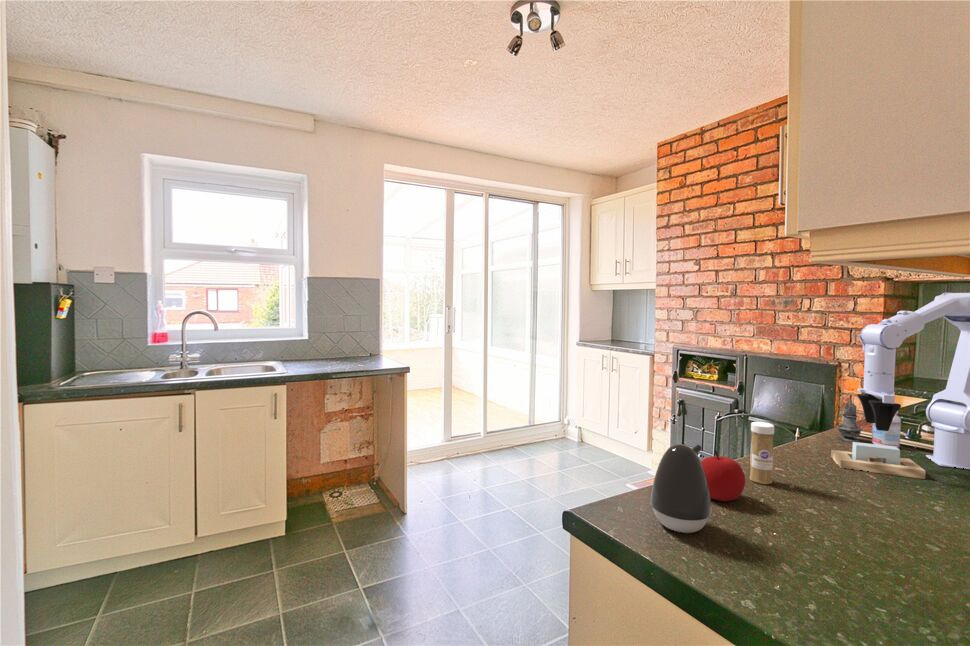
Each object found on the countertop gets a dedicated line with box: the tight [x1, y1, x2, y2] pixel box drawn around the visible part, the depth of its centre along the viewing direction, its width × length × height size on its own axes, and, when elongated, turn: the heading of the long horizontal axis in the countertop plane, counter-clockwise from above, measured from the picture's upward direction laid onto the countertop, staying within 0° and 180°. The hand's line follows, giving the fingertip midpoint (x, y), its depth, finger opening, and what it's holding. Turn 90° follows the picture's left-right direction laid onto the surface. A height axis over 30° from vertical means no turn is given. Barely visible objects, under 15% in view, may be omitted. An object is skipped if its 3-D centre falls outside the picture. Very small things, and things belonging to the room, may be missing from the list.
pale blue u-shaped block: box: [851, 442, 901, 465], centre depth 113 cm, size 8×3×6 cm, turn 64°
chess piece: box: [836, 400, 863, 443], centre depth 136 cm, size 6×6×12 cm
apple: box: [700, 450, 746, 502], centre depth 95 cm, size 9×9×10 cm
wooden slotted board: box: [830, 449, 926, 480], centre depth 113 cm, size 16×9×2 cm, turn 64°
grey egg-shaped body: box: [650, 443, 712, 534], centre depth 83 cm, size 10×10×15 cm
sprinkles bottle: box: [749, 421, 775, 485], centre depth 104 cm, size 5×5×14 cm
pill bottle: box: [871, 410, 902, 449], centre depth 131 cm, size 6×6×11 cm
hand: (876, 426), depth 113 cm, fingers open, 7 cm apart
